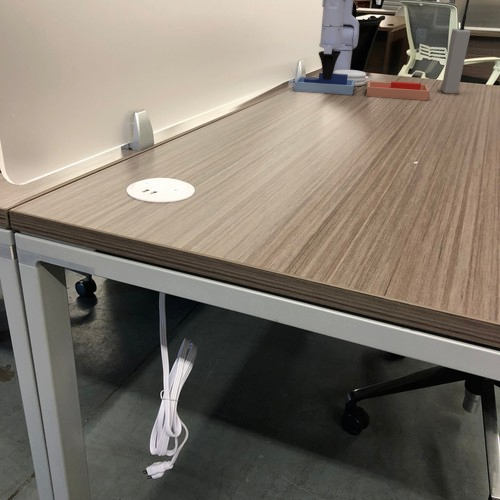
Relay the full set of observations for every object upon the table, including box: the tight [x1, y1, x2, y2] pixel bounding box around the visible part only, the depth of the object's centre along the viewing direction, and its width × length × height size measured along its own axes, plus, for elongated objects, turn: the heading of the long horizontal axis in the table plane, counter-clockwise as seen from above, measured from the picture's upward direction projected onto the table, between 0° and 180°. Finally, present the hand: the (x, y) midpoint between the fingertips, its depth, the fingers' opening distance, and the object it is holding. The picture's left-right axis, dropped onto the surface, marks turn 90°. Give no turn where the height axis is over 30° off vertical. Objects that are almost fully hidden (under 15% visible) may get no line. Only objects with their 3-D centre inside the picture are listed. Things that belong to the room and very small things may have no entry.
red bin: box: [366, 80, 430, 101], centre depth 140 cm, size 10×16×2 cm, turn 77°
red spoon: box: [375, 80, 422, 90], centre depth 140 cm, size 12×4×3 cm, turn 77°
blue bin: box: [293, 76, 355, 96], centre depth 144 cm, size 10×16×2 cm, turn 77°
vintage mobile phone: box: [439, 0, 471, 95], centre depth 141 cm, size 4×5×25 cm
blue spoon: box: [304, 72, 348, 85], centre depth 143 cm, size 12×4×3 cm, turn 77°
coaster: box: [333, 69, 367, 87], centre depth 154 cm, size 10×10×4 cm
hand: (327, 78), depth 143 cm, fingers closed on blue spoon
